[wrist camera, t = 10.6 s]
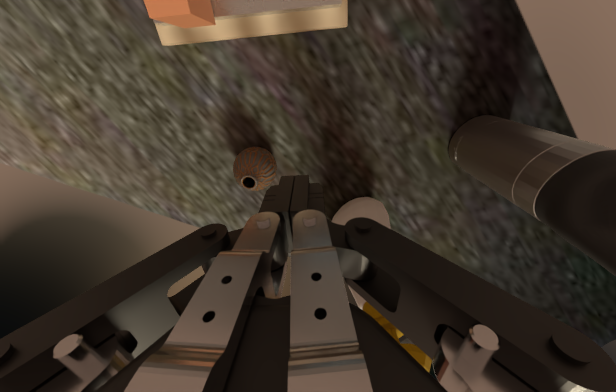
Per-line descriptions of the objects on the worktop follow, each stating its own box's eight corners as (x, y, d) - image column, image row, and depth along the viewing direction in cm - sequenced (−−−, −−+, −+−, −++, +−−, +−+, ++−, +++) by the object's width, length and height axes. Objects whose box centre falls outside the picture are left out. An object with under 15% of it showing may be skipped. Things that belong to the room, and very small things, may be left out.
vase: (262, 134, 38) (251, 151, 30) (286, 165, 41) (281, 189, 33) (231, 154, 39) (214, 176, 32) (256, 184, 42) (245, 209, 35)
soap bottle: (352, 172, 41) (425, 337, 16) (389, 202, 45) (495, 376, 20) (308, 215, 46) (312, 393, 21) (344, 239, 50) (383, 417, 25)
